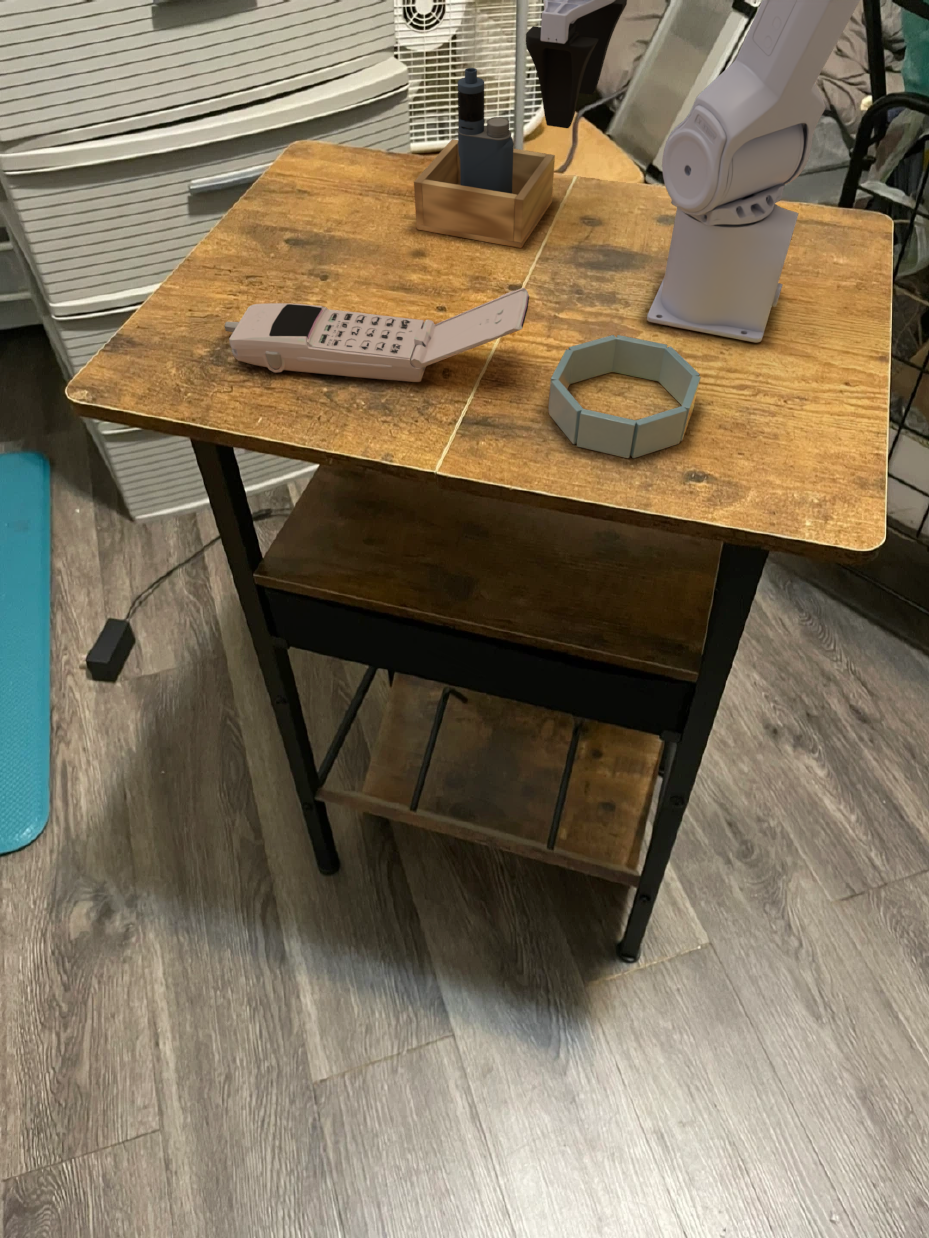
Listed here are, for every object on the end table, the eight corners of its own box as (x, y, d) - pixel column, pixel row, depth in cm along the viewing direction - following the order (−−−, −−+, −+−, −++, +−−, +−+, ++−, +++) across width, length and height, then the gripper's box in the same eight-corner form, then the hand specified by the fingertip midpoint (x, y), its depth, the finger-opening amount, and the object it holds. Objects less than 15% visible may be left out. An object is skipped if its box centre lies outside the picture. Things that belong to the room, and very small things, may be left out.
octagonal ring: (701, 386, 67) (709, 352, 64) (672, 469, 61) (680, 435, 59) (574, 359, 69) (577, 326, 67) (534, 437, 63) (537, 403, 61)
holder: (552, 202, 86) (555, 154, 82) (521, 248, 80) (523, 199, 77) (453, 185, 88) (451, 139, 85) (416, 229, 83) (413, 181, 79)
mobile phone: (522, 330, 62) (189, 300, 64) (518, 399, 66) (207, 368, 69) (532, 286, 65) (217, 260, 68) (528, 354, 70) (232, 327, 73)
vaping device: (464, 200, 85) (462, 63, 76) (515, 208, 84) (519, 70, 75) (455, 212, 84) (451, 73, 74) (506, 221, 82) (509, 81, 73)
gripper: (563, -110, 71) (552, 73, 82) (505, -63, 63) (501, 135, 74) (647, -104, 70) (625, 82, 80) (599, -54, 61) (581, 147, 72)
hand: (571, 108), depth 77 cm, fingers open, 7 cm apart
